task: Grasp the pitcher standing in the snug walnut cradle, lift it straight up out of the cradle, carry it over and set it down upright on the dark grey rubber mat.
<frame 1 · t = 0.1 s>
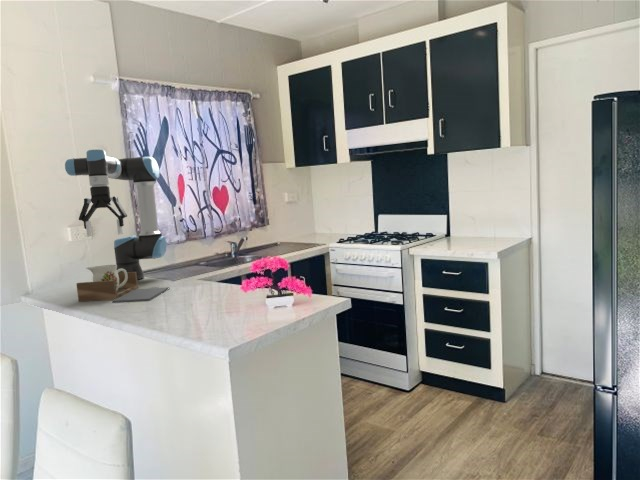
hand: (105, 235, 210), 28 cm above the countertop, fingers open, 13 cm apart
walnut cradle: (109, 294, 222), on the countertop
pitcher: (110, 294, 222), resting in walnut cradle
rubber mat: (142, 295, 215), on the countertop
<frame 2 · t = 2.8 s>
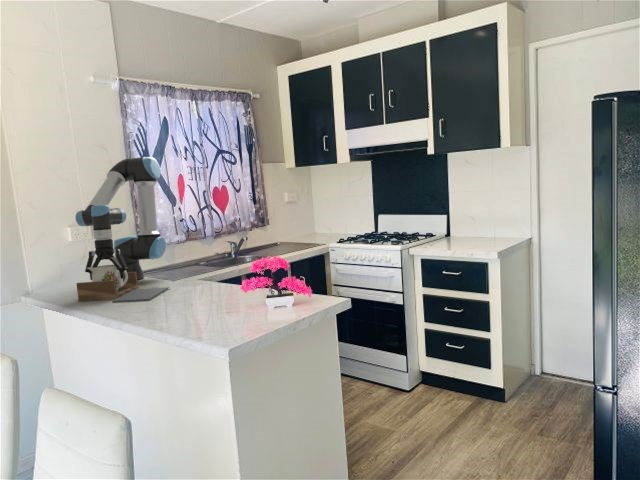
hand: (108, 286, 222), 4 cm above the countertop, fingers closed on pitcher, 11 cm apart
pitcher: (110, 294, 222), resting in walnut cradle, touching gripper
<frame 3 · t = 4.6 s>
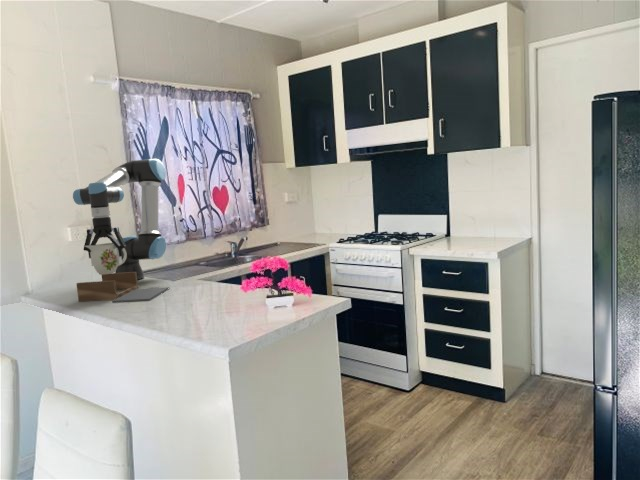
hand: (107, 264, 221), 14 cm above the countertop, fingers closed on pitcher, 11 cm apart
pitcher: (109, 273, 222), point 10 cm above the countertop, touching gripper
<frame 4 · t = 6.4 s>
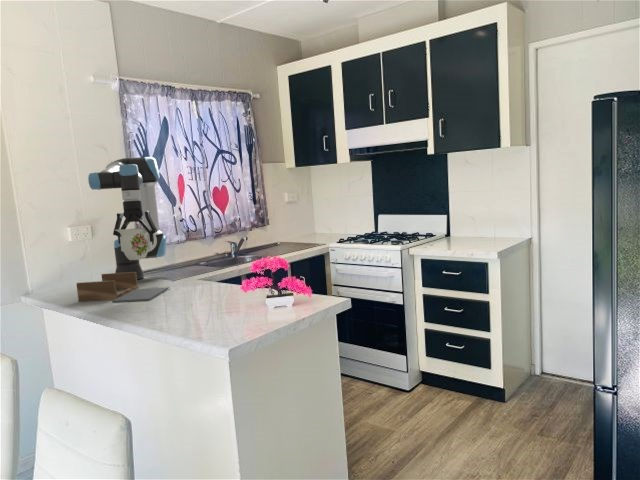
hand: (137, 250, 213), 20 cm above the countertop, fingers closed on pitcher, 11 cm apart
pitcher: (139, 259, 213), point 16 cm above the countertop, touching gripper
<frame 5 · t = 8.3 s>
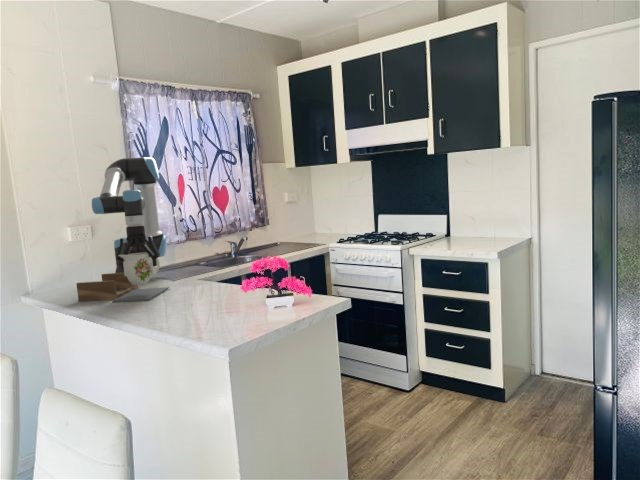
hand: (140, 274, 214), 9 cm above the countertop, fingers closed on pitcher, 11 cm apart
pitcher: (142, 283, 214), point 5 cm above the countertop, touching gripper
when the fingers open (7 cm above the countertop, at t = 9.9 s): pitcher drops 2 cm, resting on rubber mat.
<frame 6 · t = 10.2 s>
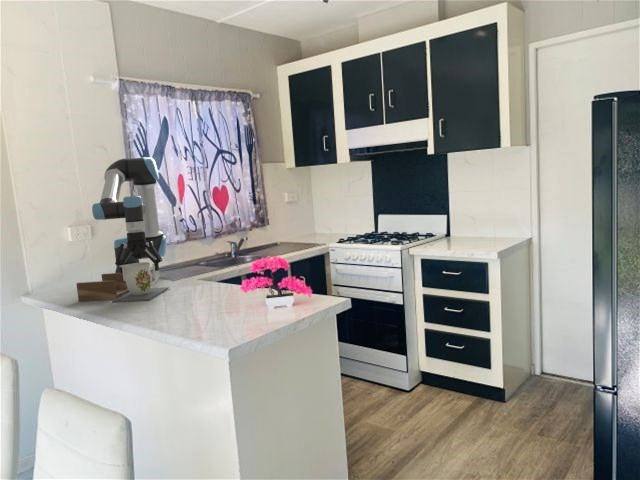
hand: (140, 279, 214), 7 cm above the countertop, fingers open, 13 cm apart
pitcher: (142, 293, 215), point 1 cm above the countertop, touching rubber mat
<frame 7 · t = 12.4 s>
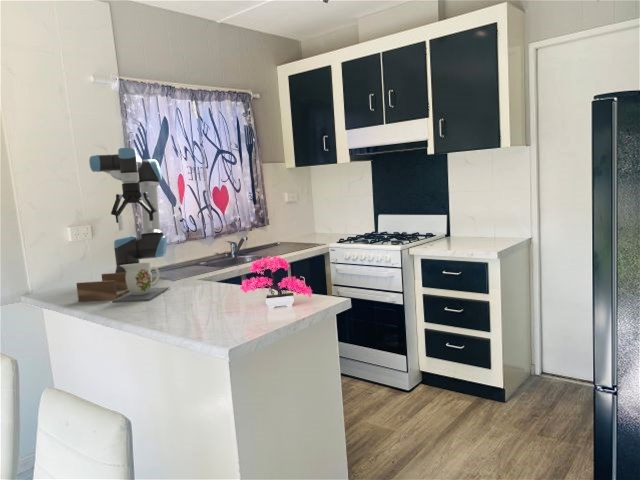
hand: (135, 229, 222), 29 cm above the countertop, fingers open, 13 cm apart
nothing on the countertop moved.
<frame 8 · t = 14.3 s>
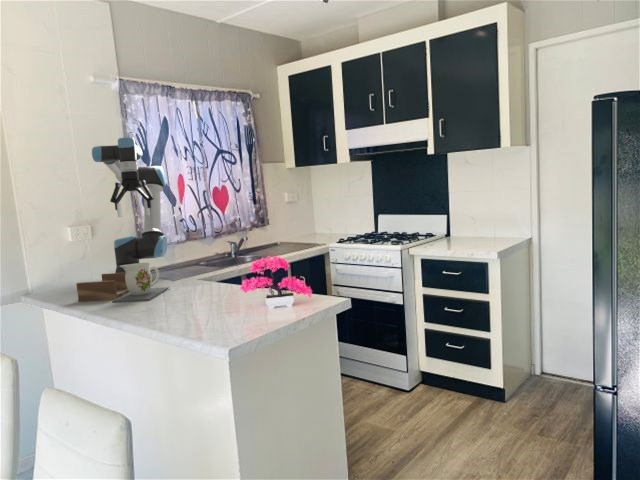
hand: (134, 216, 230), 35 cm above the countertop, fingers open, 13 cm apart
nothing on the countertop moved.
at the end: pitcher inside the target area on the rubber mat (0.3 cm from its centre), point 0.7 cm above the rubber mat's base; pitcher tilted 1°; the gripper is holding nothing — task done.
